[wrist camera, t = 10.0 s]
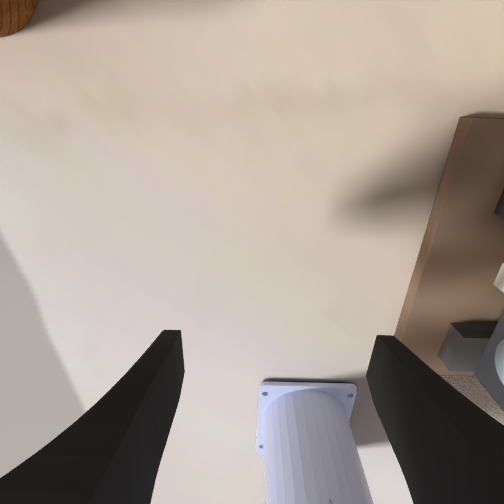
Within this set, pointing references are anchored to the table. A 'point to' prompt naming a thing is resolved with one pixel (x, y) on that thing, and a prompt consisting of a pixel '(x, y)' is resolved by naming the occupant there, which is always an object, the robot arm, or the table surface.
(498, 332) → the long gray beam
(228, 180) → the table surface
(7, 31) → the disposable coffee cup
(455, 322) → the display stand
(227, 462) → the table surface
